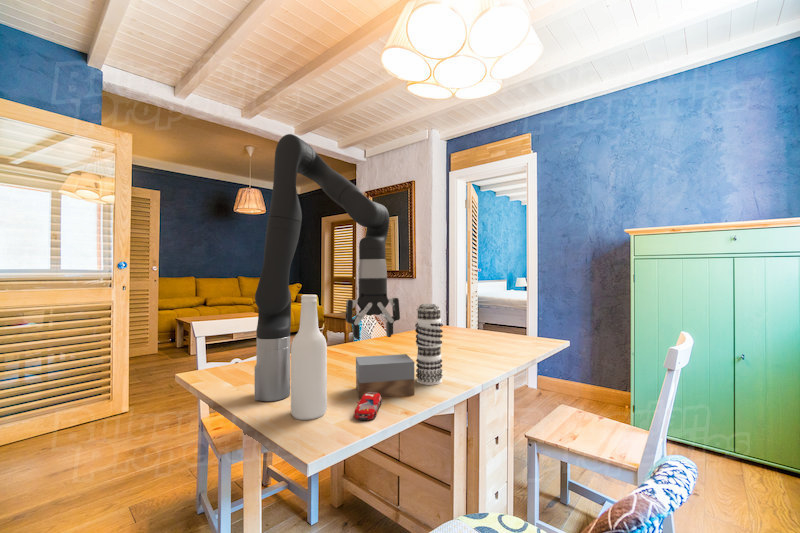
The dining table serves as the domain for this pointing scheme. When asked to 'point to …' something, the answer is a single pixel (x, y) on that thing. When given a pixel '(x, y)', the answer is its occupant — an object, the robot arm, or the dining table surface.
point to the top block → (384, 368)
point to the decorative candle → (429, 345)
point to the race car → (368, 406)
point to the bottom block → (386, 388)
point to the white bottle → (308, 365)
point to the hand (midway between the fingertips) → (373, 337)
